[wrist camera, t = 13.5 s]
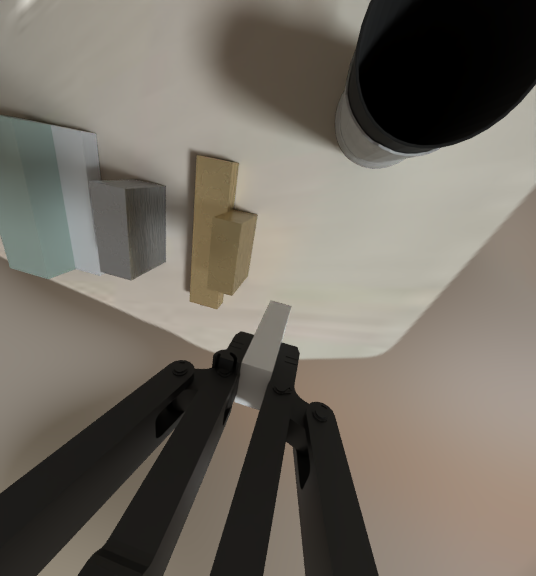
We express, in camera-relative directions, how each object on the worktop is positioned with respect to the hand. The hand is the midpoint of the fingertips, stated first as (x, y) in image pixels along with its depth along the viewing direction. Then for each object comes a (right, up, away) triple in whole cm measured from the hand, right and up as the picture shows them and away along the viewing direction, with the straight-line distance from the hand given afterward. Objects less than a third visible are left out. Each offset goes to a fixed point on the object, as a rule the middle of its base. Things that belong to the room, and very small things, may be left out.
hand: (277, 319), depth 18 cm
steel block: (-16, +11, +15) cm, 25 cm away
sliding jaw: (-6, +8, +14) cm, 17 cm away
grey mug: (+11, +20, +4) cm, 24 cm away
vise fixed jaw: (-28, +14, +17) cm, 35 cm away
